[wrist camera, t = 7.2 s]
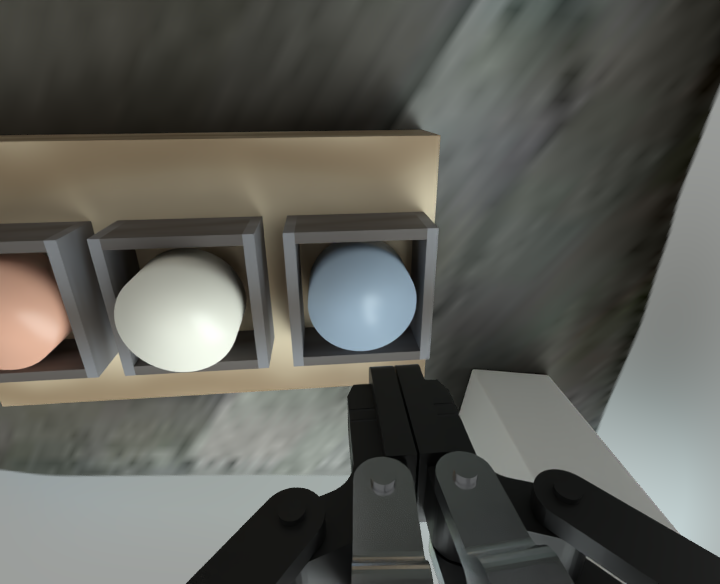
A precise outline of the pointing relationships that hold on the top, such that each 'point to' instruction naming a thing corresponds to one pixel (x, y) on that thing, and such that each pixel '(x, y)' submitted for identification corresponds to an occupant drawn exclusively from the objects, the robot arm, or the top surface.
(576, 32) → the top surface
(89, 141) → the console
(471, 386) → the milk
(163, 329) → the cream button
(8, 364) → the terracotta button
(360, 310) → the slate blue button
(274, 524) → the robot arm
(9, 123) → the top surface
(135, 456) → the top surface
